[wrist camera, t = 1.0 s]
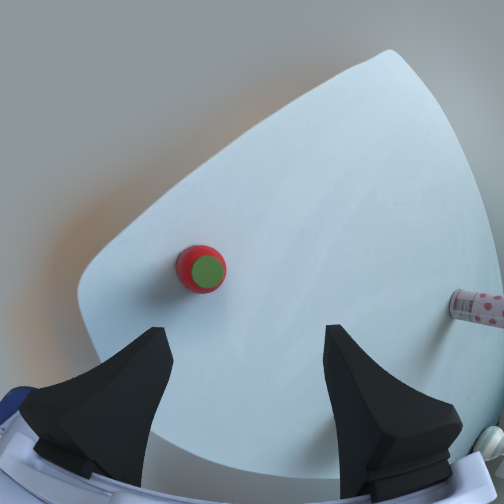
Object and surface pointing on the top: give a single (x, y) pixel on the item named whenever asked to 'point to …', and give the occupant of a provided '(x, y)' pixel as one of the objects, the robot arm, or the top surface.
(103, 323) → the top surface
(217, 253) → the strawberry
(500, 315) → the beverage can
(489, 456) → the lamp
